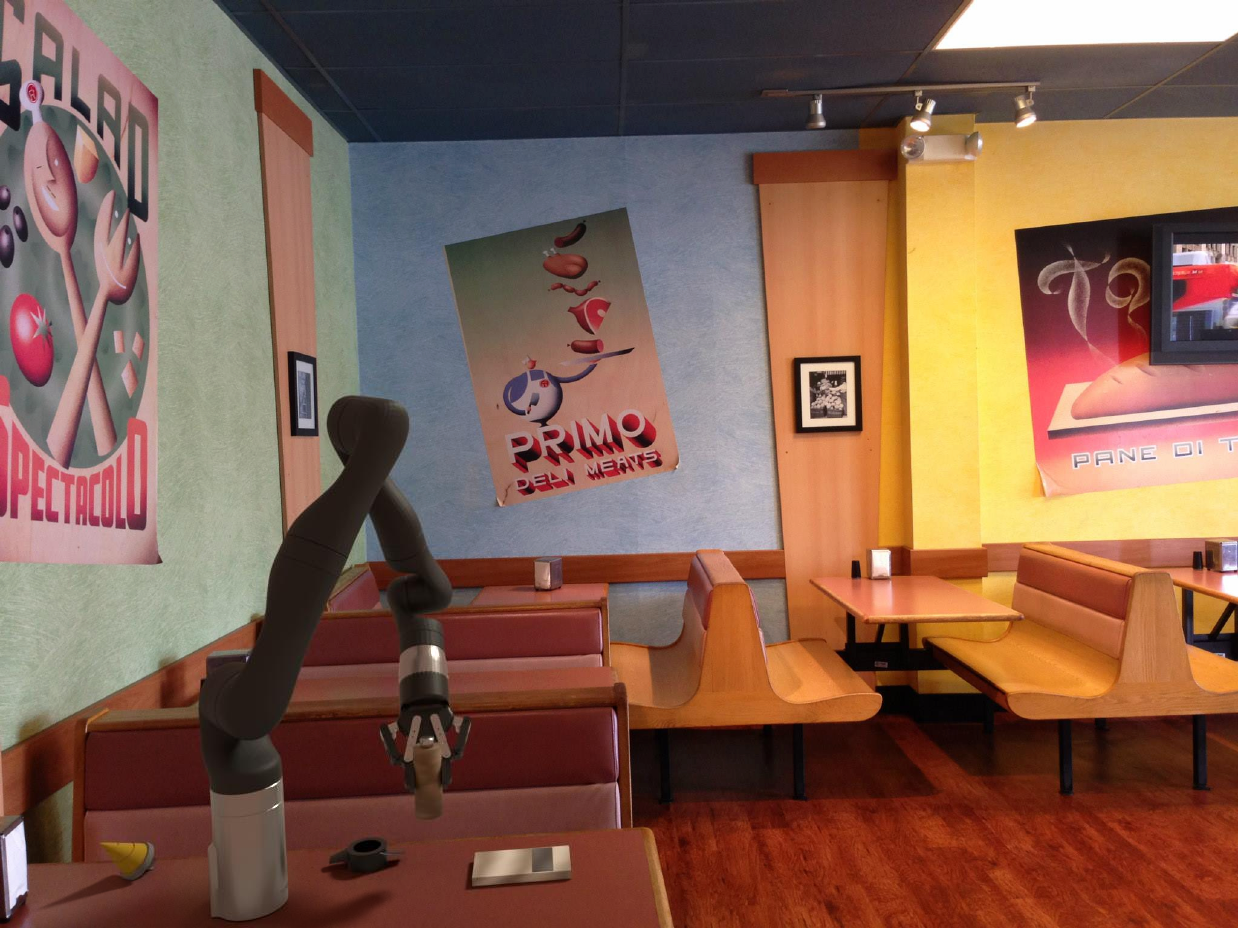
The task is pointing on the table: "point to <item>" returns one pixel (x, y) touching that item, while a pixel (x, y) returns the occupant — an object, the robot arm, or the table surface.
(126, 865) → the yellow party hat
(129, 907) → the table surface
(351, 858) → the black winged cup
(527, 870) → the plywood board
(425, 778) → the wooden pepper mill
